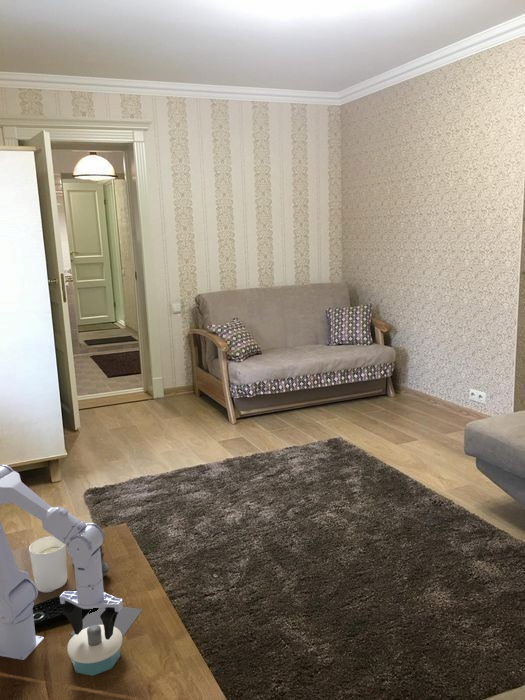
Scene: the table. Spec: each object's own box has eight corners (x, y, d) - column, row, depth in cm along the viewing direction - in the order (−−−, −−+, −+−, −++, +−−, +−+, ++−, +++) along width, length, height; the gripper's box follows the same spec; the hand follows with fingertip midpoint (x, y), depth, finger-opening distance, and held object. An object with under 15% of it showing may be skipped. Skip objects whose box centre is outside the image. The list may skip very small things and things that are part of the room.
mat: (69, 637, 145) (69, 634, 145) (97, 604, 157) (97, 602, 157) (118, 644, 142) (118, 642, 141) (142, 611, 154) (142, 609, 154)
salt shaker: (104, 586, 165) (100, 546, 163) (84, 584, 167) (81, 544, 164) (113, 574, 171) (110, 535, 169) (94, 572, 172) (91, 534, 170)
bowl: (64, 672, 133) (62, 656, 132) (88, 642, 142) (86, 628, 142) (105, 680, 130) (104, 663, 130) (126, 649, 140) (125, 634, 139)
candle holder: (25, 590, 164) (20, 550, 162) (50, 571, 173) (46, 533, 171) (53, 597, 161) (49, 556, 158) (77, 578, 170) (73, 539, 167)
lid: (57, 659, 131) (55, 643, 131) (85, 624, 143) (83, 609, 142) (106, 667, 129) (105, 650, 128) (131, 631, 140) (130, 616, 139)
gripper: (127, 573, 135) (131, 627, 137) (70, 566, 138) (75, 618, 141) (112, 591, 128) (116, 647, 130) (52, 583, 131) (57, 638, 134)
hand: (94, 634), depth 135 cm, fingers open, 7 cm apart
